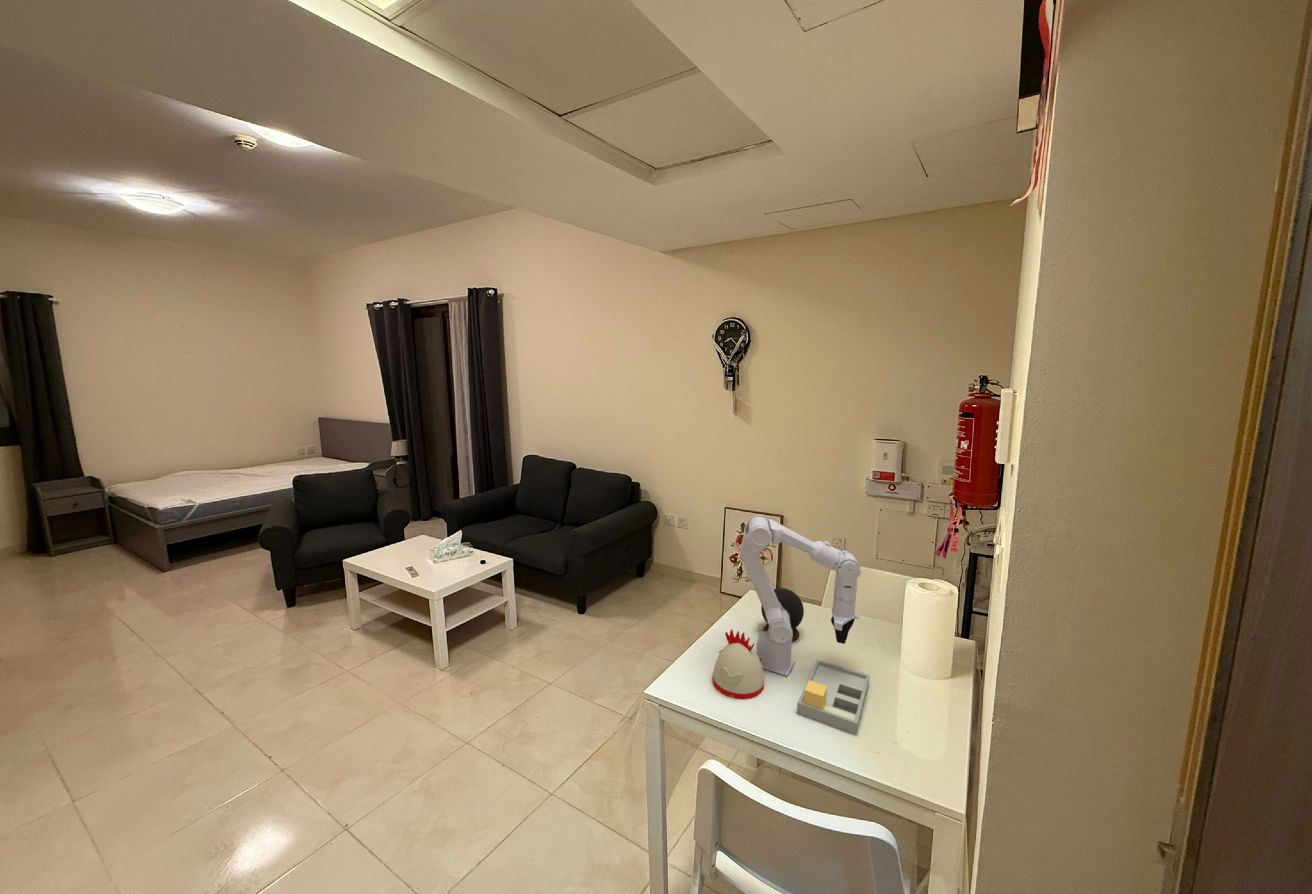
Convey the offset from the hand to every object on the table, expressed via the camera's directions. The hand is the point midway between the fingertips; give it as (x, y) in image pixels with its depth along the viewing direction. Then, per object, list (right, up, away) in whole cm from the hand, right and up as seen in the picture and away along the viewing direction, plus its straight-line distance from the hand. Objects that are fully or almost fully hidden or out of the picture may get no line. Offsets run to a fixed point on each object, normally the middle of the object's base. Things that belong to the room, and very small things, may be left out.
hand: (841, 641), depth 139 cm
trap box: (-5, -11, -10) cm, 16 cm away
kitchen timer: (-29, -10, -3) cm, 31 cm away
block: (-12, -10, -15) cm, 21 cm away
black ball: (-12, -6, +21) cm, 24 cm away
